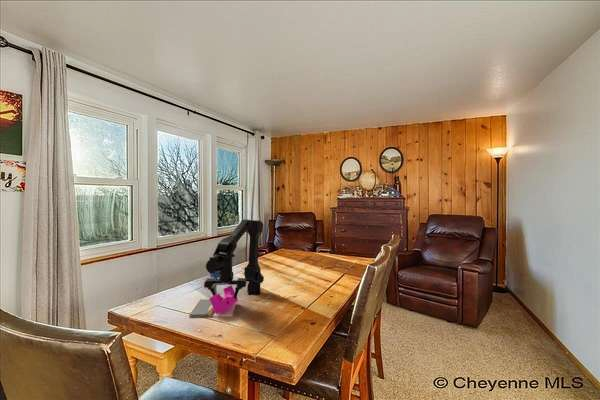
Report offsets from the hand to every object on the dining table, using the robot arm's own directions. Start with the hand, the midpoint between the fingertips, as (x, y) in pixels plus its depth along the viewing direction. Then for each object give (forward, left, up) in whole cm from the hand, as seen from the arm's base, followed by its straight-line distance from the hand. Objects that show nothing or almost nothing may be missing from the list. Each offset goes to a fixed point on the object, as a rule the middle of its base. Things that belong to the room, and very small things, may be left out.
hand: (225, 300), depth 132 cm
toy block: (-2, +2, -2) cm, 3 cm away
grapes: (+13, -46, -4) cm, 48 cm away
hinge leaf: (+9, 0, -3) cm, 10 cm away
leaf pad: (0, 0, -4) cm, 4 cm away
